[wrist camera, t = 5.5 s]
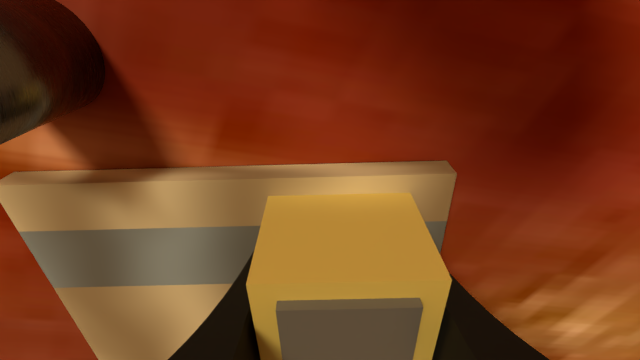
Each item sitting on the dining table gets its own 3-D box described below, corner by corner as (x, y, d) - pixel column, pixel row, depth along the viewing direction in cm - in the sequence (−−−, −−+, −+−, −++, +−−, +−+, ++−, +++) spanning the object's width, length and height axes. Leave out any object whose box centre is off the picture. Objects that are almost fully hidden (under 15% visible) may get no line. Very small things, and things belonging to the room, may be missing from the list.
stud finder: (282, 310, 14) (269, 421, 10) (268, 196, 11) (243, 294, 8) (394, 307, 14) (422, 418, 10) (410, 192, 11) (456, 289, 7)
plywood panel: (164, 438, 22) (158, 456, 21) (14, 172, 12) (-10, 185, 11) (395, 433, 22) (398, 451, 21) (446, 160, 12) (456, 173, 11)
